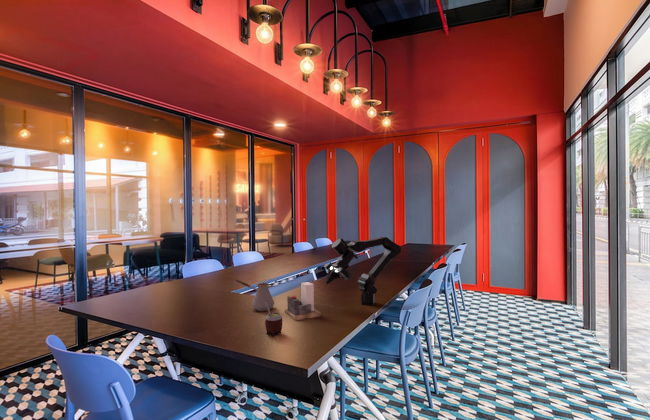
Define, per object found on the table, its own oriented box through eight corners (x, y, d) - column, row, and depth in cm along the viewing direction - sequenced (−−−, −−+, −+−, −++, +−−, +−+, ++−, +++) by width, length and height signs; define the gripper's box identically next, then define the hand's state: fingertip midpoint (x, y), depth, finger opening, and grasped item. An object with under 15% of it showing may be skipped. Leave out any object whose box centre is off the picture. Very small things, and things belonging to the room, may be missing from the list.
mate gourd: (283, 330, 146) (282, 295, 146) (281, 337, 138) (280, 300, 138) (265, 331, 145) (265, 295, 145) (262, 338, 138) (262, 300, 137)
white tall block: (308, 307, 173) (308, 282, 173) (313, 310, 167) (313, 284, 167) (301, 308, 171) (301, 282, 171) (306, 312, 166) (306, 285, 166)
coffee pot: (277, 306, 183) (277, 278, 182) (270, 312, 171) (269, 282, 171) (239, 304, 186) (239, 277, 186) (230, 311, 175) (229, 281, 175)
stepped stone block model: (309, 308, 177) (309, 290, 177) (321, 316, 165) (320, 296, 165) (284, 312, 171) (284, 293, 171) (295, 320, 159) (294, 300, 159)
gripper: (364, 273, 173) (345, 297, 168) (345, 267, 190) (328, 289, 185) (350, 258, 169) (331, 283, 165) (332, 254, 186) (314, 276, 181)
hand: (326, 283), depth 174 cm, fingers closed
